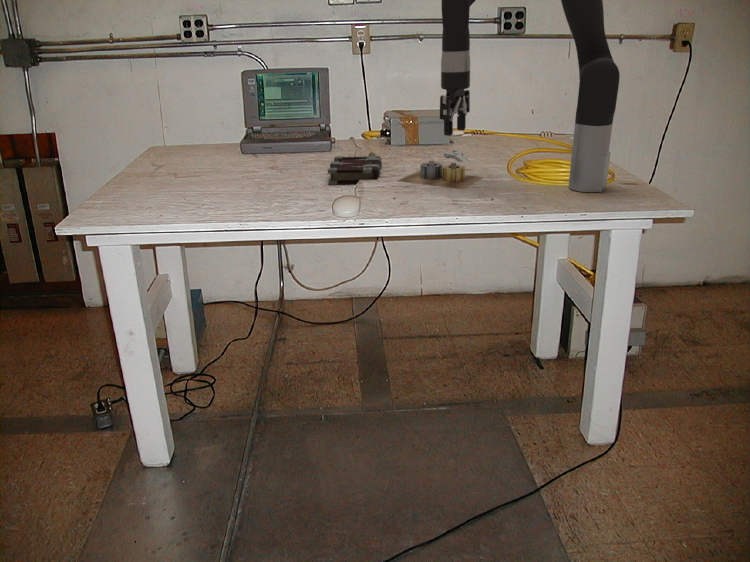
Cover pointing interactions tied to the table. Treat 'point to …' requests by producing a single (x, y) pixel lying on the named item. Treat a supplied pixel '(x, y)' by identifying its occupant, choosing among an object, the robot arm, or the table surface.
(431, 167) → the steel gear
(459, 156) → the adjustable wrench
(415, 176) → the gear board
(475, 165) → the table surface
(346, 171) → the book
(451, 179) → the brass gear
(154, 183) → the table surface
